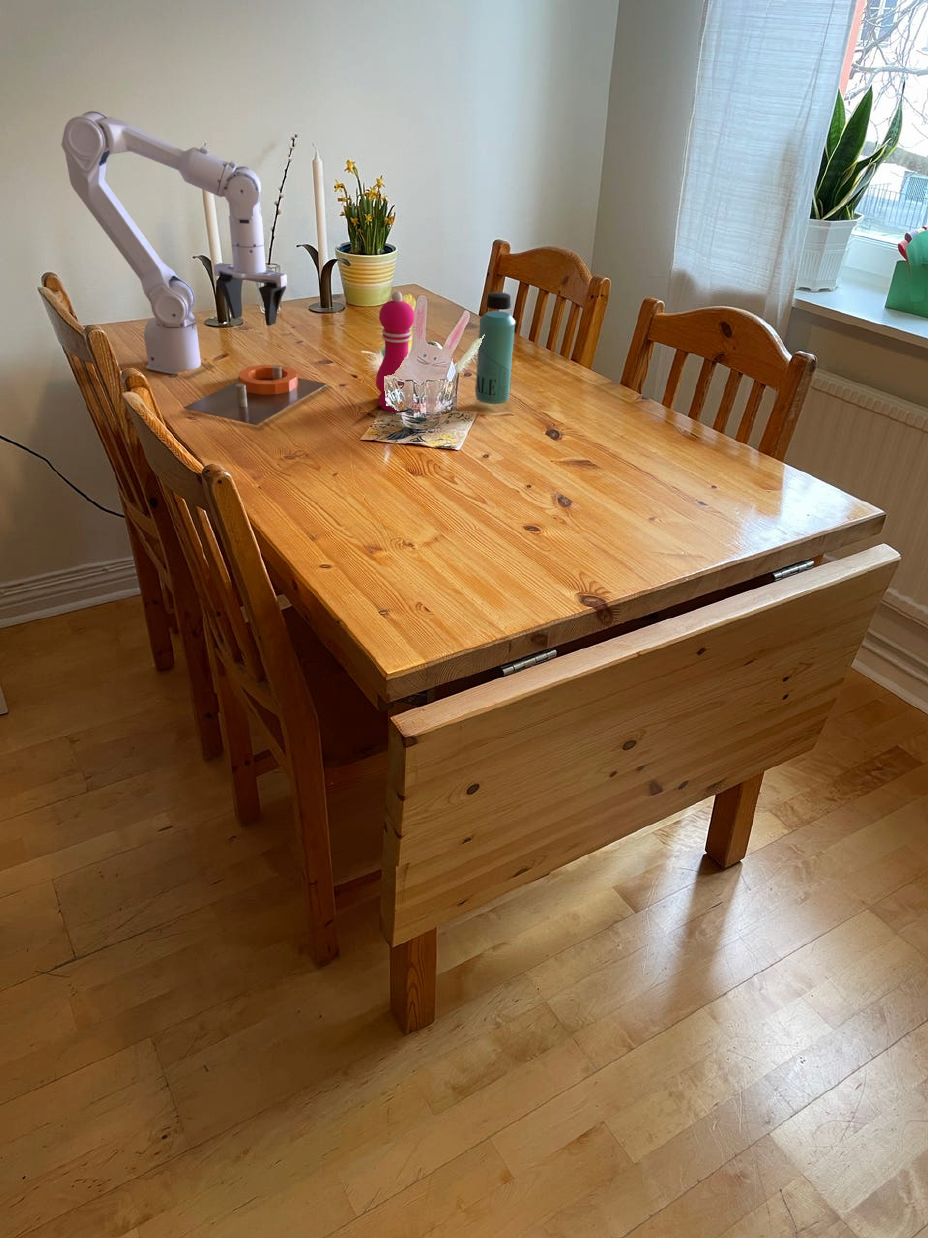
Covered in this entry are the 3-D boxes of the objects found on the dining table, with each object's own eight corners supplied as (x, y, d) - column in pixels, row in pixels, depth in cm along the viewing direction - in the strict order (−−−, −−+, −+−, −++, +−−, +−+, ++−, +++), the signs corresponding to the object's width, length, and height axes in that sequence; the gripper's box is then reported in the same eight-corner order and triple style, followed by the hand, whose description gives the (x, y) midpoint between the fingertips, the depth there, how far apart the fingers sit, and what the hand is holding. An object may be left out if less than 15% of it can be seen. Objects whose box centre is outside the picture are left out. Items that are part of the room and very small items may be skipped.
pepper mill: (410, 415, 157) (412, 299, 146) (371, 410, 158) (370, 294, 147) (420, 401, 163) (423, 288, 152) (382, 396, 164) (382, 284, 153)
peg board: (183, 412, 153) (180, 386, 151) (260, 373, 171) (258, 350, 168) (257, 429, 149) (254, 403, 146) (328, 387, 166) (327, 364, 164)
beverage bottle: (510, 400, 165) (519, 289, 154) (508, 414, 160) (517, 300, 149) (475, 397, 166) (482, 286, 154) (472, 410, 160) (478, 296, 149)
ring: (228, 387, 161) (227, 377, 160) (261, 371, 169) (260, 360, 168) (277, 398, 158) (276, 387, 157) (308, 381, 166) (307, 370, 165)
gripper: (200, 242, 159) (208, 319, 166) (269, 253, 154) (274, 332, 162) (224, 235, 164) (231, 310, 172) (291, 246, 159) (295, 322, 167)
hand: (254, 320), depth 167 cm, fingers open, 7 cm apart
